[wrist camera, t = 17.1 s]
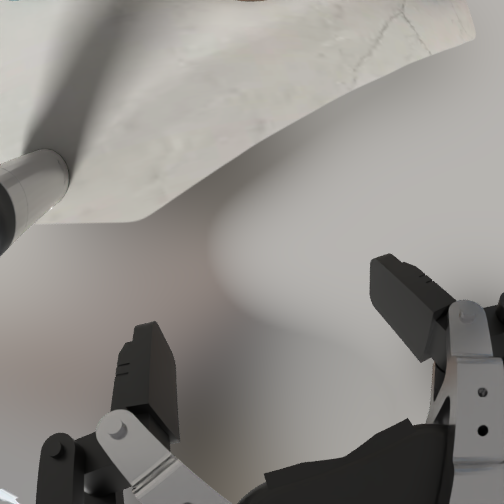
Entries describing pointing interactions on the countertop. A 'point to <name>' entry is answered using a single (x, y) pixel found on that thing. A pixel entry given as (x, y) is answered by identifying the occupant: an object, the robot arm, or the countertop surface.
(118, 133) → the countertop surface
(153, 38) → the countertop surface
